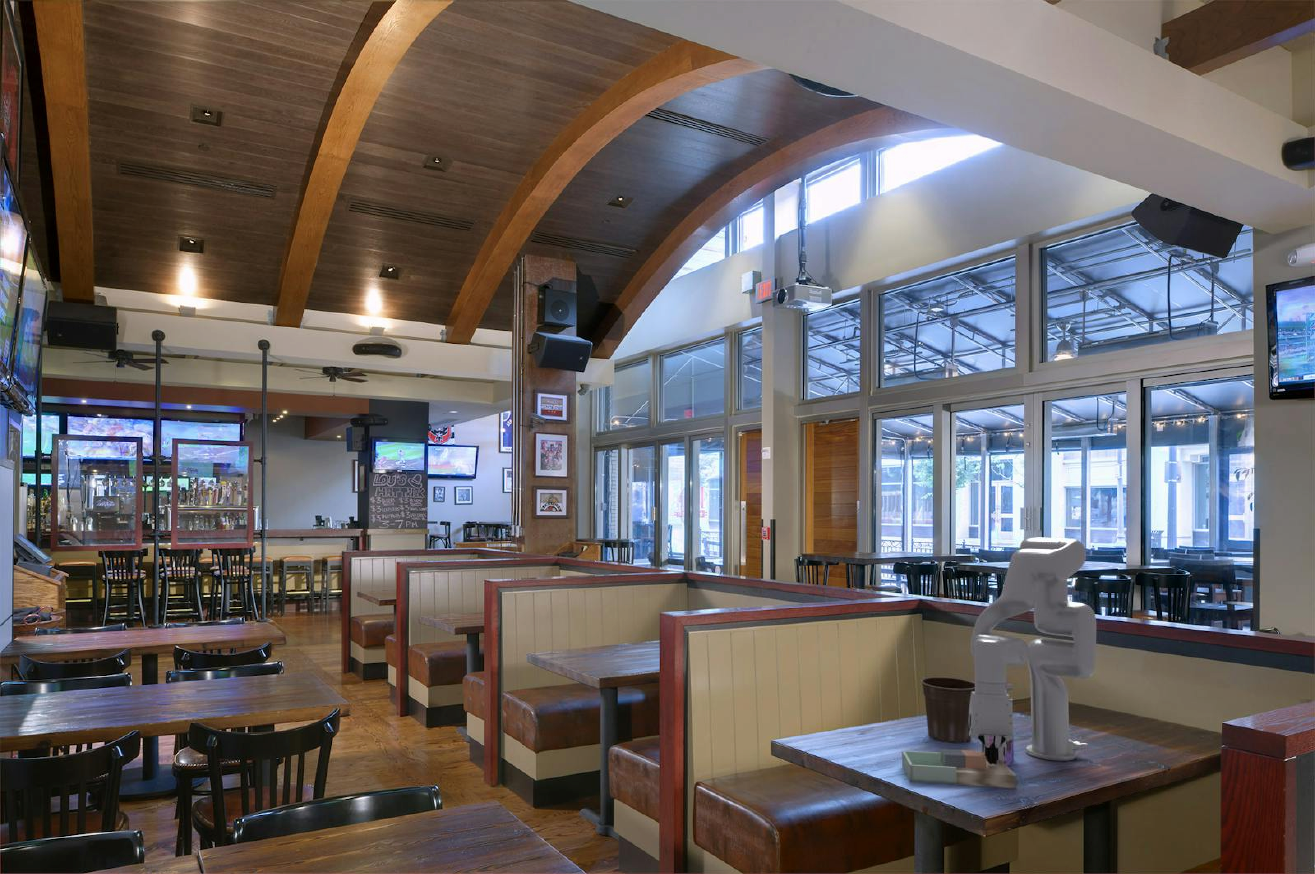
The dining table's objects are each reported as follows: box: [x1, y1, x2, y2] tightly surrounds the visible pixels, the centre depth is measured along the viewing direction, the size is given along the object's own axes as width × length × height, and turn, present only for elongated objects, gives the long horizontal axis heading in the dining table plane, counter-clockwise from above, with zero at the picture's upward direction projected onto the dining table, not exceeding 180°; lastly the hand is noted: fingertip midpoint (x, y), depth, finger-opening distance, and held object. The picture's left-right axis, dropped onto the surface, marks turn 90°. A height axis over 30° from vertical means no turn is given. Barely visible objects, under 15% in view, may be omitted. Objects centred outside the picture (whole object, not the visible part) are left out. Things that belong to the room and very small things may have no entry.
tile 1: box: [940, 748, 966, 768], centre depth 213 cm, size 5×5×3 cm
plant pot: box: [920, 676, 975, 744], centre depth 251 cm, size 16×16×16 cm
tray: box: [901, 750, 958, 786], centre depth 214 cm, size 11×13×4 cm
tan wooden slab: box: [956, 760, 1017, 789], centre depth 212 cm, size 14×13×3 cm
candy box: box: [981, 698, 1015, 768], centre depth 225 cm, size 14×6×16 cm, turn 148°
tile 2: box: [960, 749, 986, 769], centre depth 213 cm, size 5×5×3 cm
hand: (991, 762), depth 212 cm, fingers closed
